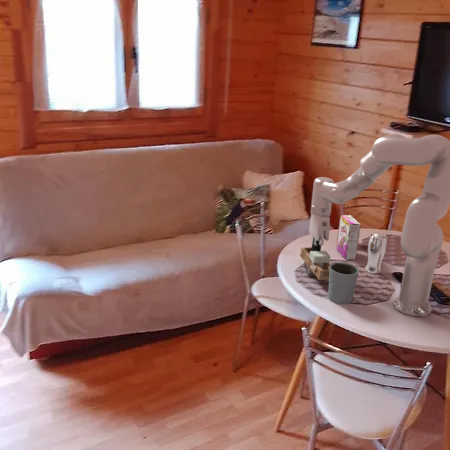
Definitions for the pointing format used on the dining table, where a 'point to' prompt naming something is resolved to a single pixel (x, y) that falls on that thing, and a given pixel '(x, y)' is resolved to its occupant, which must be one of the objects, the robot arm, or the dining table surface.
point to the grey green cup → (342, 282)
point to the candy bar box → (348, 237)
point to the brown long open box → (314, 266)
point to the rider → (319, 257)
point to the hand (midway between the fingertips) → (315, 253)
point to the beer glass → (376, 252)
